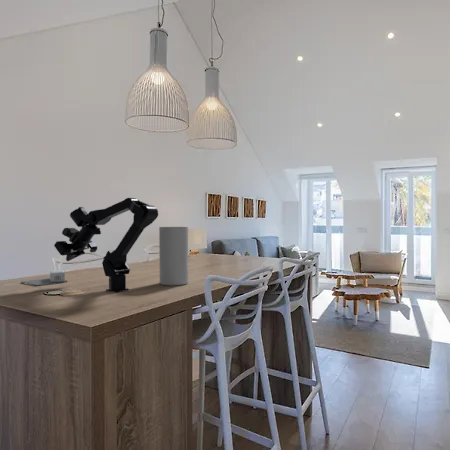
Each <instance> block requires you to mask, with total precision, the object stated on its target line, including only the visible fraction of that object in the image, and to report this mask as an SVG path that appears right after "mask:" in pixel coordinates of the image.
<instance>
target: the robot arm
mask: <svg viewBox="0 0 450 450" xmlns="http://www.w3.org/2000/svg"><path fill="white" fill-rule="evenodd" d="M128 211H130V212H131V213H132V214H133V221H132V224H131V225H130V227H129V228H128V230H127V231H126V233H125V234H124V236H123V237H122V239H121V240H120V242H119V244H118V245H117V246H116V248H115V249H113V250H108V251H106V254H105V255H104V257H103V258H102V263H101V264H102V268H103V272H104V276H105V277H108V288H106V289H105V291H106V292H112V293H119V292H124V291H129V290H130V288H128V287H126V286H127V284H126V283H127V282H126V280H127V279H126V276H127V275H129V274H130V271H131V269H130V267H129V266H128V264H127V263H126V262H127V261H128V260H127V258H128V253H130V251H131V249H132V248H133V246H134V245H135V243H136V242H137V240H138V239H139V237H140V236H141V234H142V233H143V232H144V230H145V229H146V228H147V227H148V226H150V225H152V224H153V223H154V222H155V220H157V218H158V217H159V211H158V208H157V207H156V206H155V205H151V204H149V203H145V202H143V201H140V200H139V199H137V198H135V197H127V198H125V199H124V200H122V201H119V202H117V203H114V204H113V205H110V206H108V207H106V208H101V209H94V210H91V211H89V212H88V211H86V209H85V207H83V206H79V207H78V208H75V209H74V210H73V211H71V212H70V214H69V217H70V219H72V222H74V224H75V225H76V226H77V227H78V228H80V229H77V228H75V227H64V228H63V230H62V232H61V234H62V235H63V236H65V237H67V239H68V241H69V242H70V243H68V242H67V241H66V240H57V241H55V243H54V244H53V246H54V248H55V250H56V251H57V252H58V253H59V255H61V256H63V257H64V256H66V258H65V261H66V262H69V261H72V260H73V259H76V258H78V257H80V256H82V255H85V254H86V253H85V250H88V249H90V250H89V253H96V251H98V245H97V244H96V243H95V241H94V240H93V237H94V236H95V235H97V236H98V235H101V234H102V231H101V228H100V227H98V226H105V225H107V224H108V223H109V222H110V221H111V220H112V218H115V217H117V216H119V215H122V214H124V213H126V212H128Z"/></svg>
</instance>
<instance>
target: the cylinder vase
mask: <svg viewBox="0 0 450 450" xmlns="http://www.w3.org/2000/svg"><path fill="white" fill-rule="evenodd" d="M158 229H159V230H158V234H159V235H158V237H159V239H158V240H159V241H158V242H159V243H158V244H159V247H158V248H159V252H158V253H159V254H158V255H159V284H160V285H161V286H170V287H171V286H172V287H174V286H175V287H177V286H183V285H187V284H188V283H189V227H188V226H159V227H158Z"/></svg>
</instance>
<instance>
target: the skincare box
mask: <svg viewBox="0 0 450 450" xmlns="http://www.w3.org/2000/svg"><path fill="white" fill-rule="evenodd" d="M49 278H50V281H51V282H60V281H65V280H66V272H65V270H64V269H49Z"/></svg>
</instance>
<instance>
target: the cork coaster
mask: <svg viewBox="0 0 450 450" xmlns="http://www.w3.org/2000/svg"><path fill="white" fill-rule="evenodd" d="M59 294H60V295H63V296H62V297H77V296H82V295H84V294H86V291H84V290H66V291H62V292H60V293H59ZM60 295H59V296H60ZM76 295H77V296H76Z"/></svg>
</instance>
